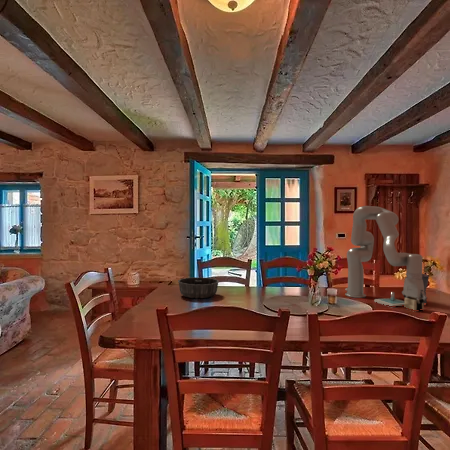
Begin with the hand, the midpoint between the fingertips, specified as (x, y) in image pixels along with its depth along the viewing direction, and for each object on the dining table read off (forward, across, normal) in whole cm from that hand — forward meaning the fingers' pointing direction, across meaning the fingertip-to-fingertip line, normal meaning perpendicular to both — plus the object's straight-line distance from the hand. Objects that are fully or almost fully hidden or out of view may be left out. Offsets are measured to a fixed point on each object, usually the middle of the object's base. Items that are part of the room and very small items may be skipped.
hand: (413, 308), depth 185 cm
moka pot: (+1, -11, +15) cm, 18 cm away
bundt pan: (+1, -66, -107) cm, 126 cm away
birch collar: (+1, 0, 0) cm, 1 cm away
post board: (+1, -14, -1) cm, 14 cm away
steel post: (-1, -14, -1) cm, 14 cm away
